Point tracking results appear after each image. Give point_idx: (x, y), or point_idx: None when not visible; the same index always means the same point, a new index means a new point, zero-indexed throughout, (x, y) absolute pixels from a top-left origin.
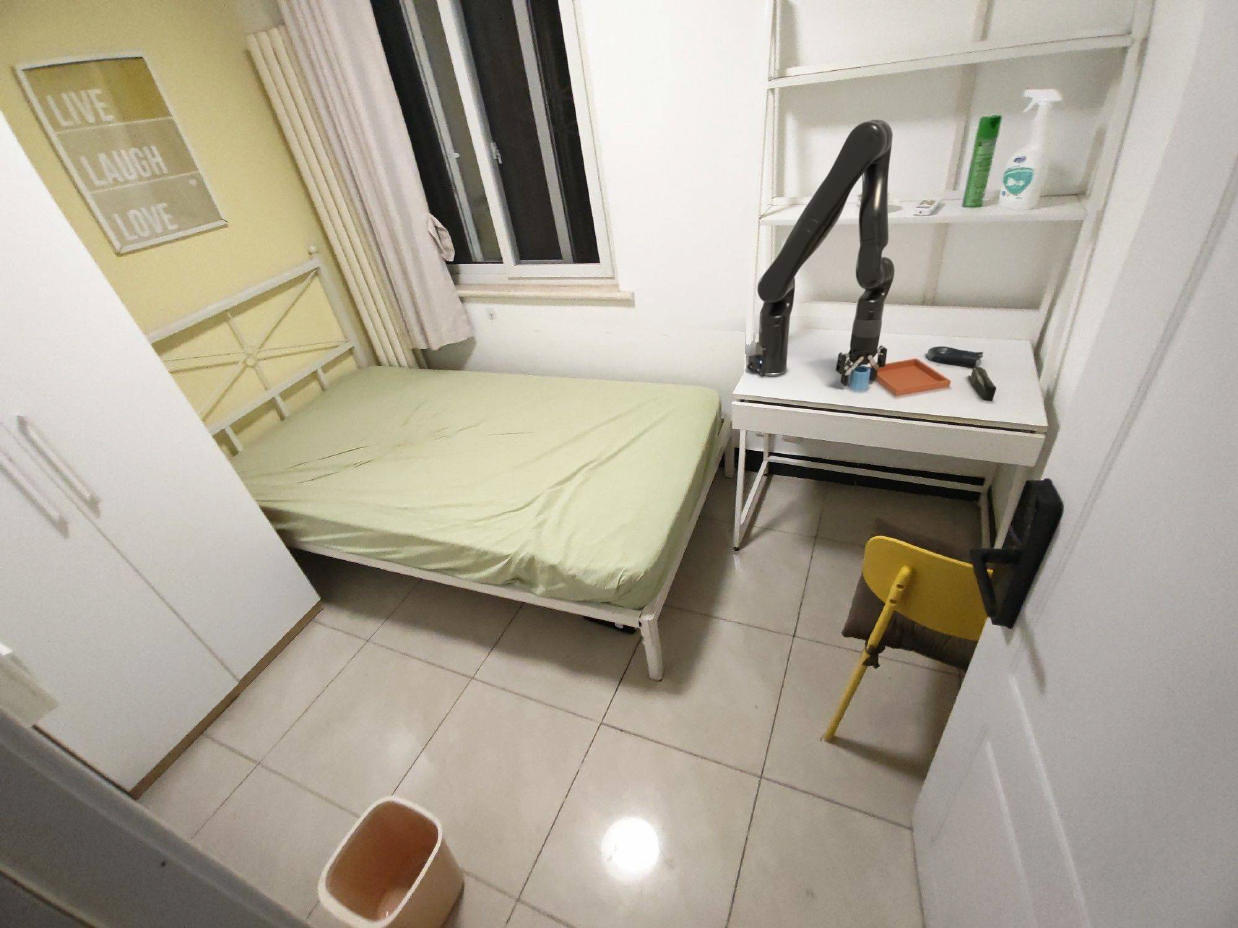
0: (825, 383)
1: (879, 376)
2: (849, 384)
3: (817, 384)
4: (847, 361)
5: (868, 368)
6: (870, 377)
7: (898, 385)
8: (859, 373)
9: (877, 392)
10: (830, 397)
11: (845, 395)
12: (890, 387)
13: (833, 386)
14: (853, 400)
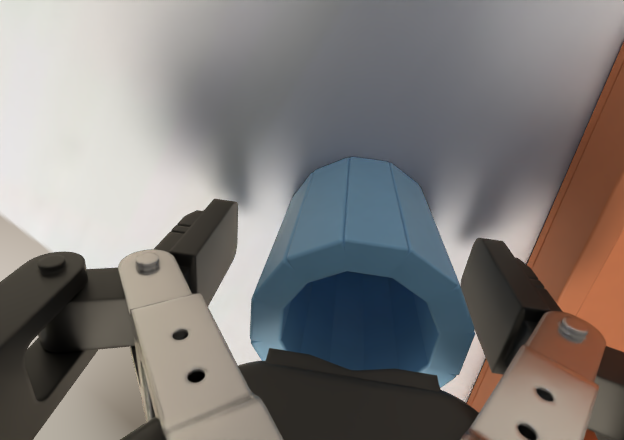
0: (154, 27)
1: (569, 283)
2: (288, 209)
3: (78, 9)
4: (140, 346)
5: (451, 358)
6: (477, 271)
7: (613, 346)
8: None
9: None
10: (109, 246)
11: None
12: None
13: (195, 115)
14: (226, 333)
